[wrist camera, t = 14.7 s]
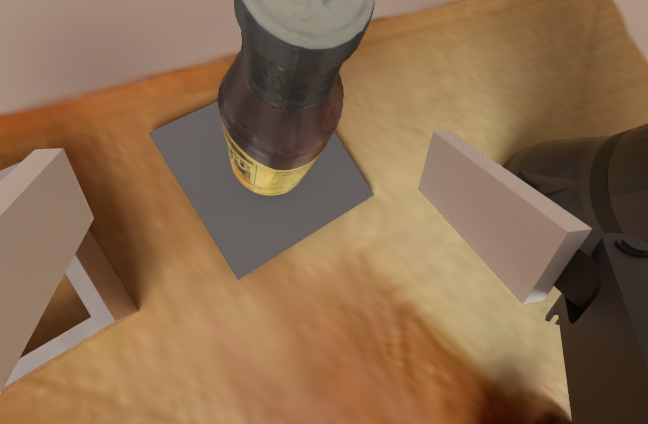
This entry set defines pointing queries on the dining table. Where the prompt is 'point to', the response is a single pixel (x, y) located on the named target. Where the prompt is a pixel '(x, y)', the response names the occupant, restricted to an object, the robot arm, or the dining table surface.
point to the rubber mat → (247, 206)
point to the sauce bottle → (286, 86)
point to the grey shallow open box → (96, 294)
